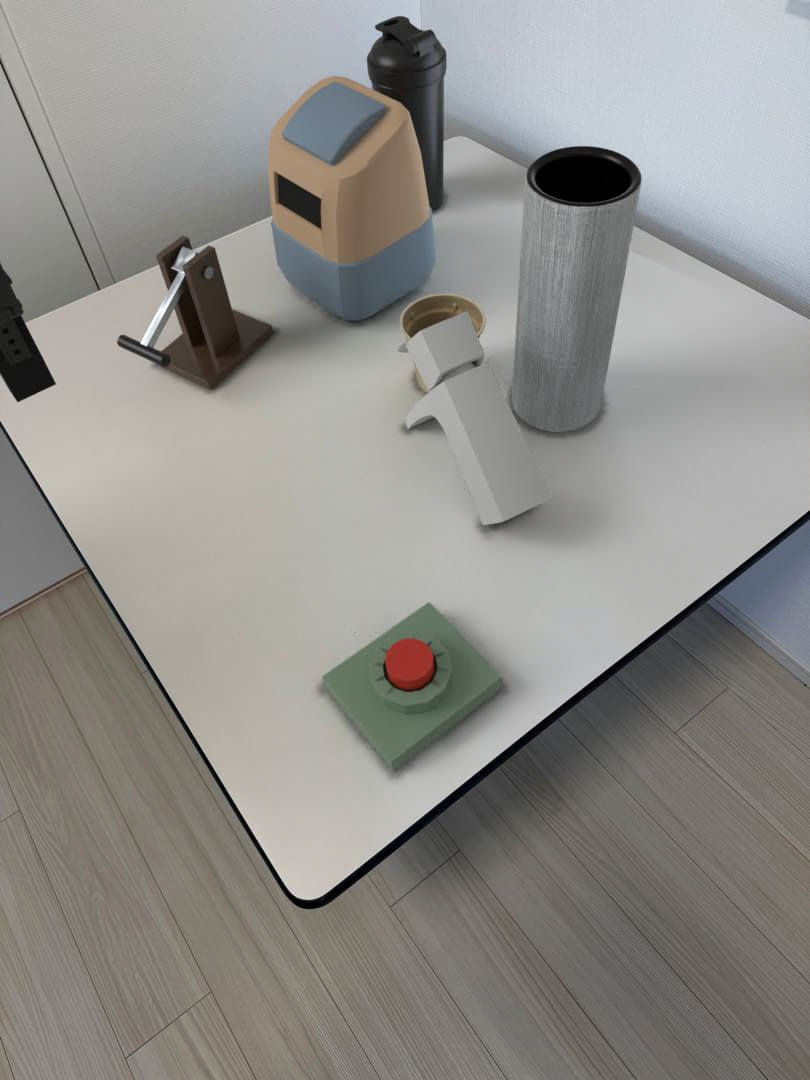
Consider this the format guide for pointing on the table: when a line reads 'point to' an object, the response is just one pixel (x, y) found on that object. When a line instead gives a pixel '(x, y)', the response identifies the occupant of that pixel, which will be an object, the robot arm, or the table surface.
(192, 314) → the brown lever stand
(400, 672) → the button
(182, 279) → the tap lever
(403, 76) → the water bottle
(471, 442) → the faucet
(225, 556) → the table surface
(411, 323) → the flower pot
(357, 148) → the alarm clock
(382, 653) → the button box
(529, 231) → the vase
